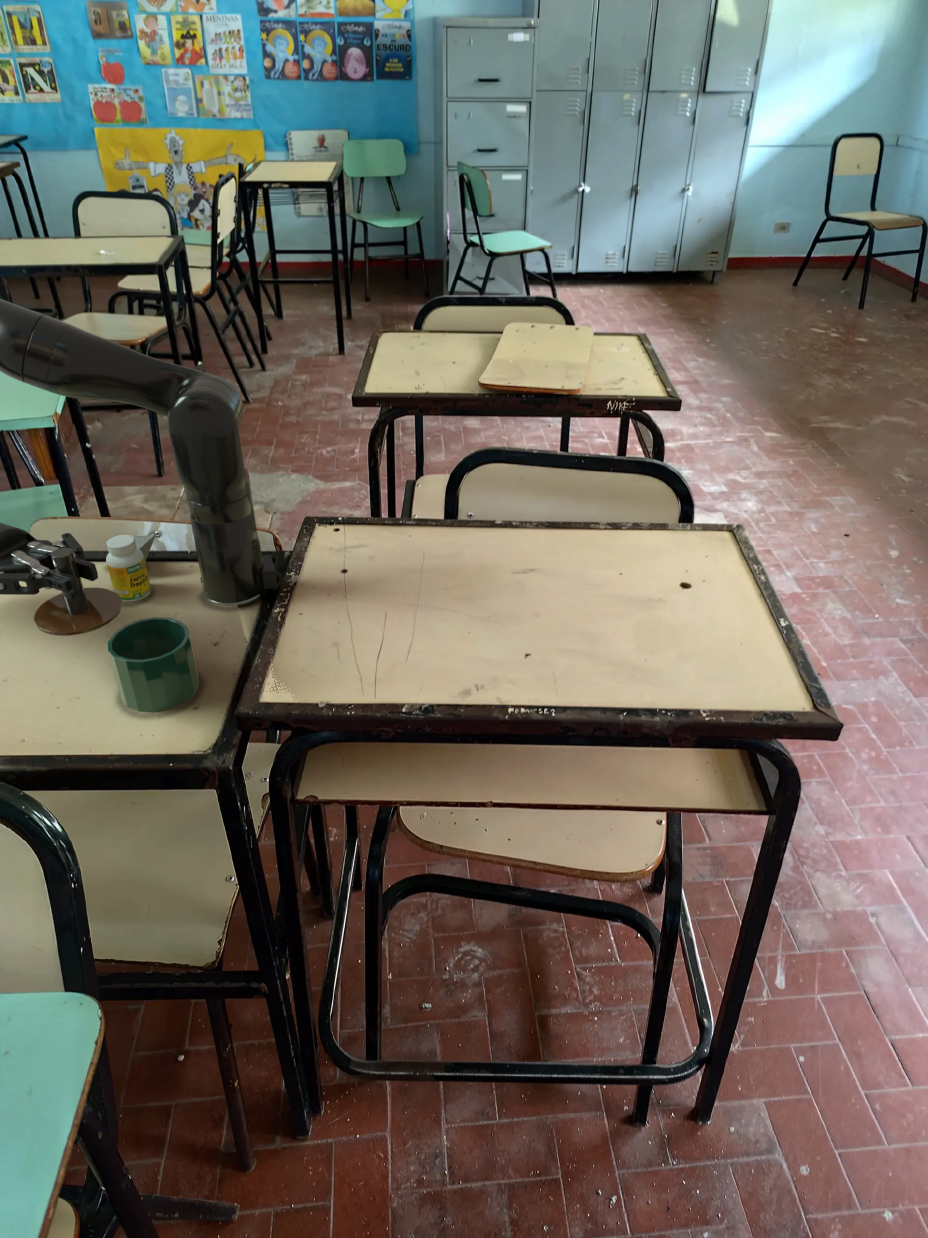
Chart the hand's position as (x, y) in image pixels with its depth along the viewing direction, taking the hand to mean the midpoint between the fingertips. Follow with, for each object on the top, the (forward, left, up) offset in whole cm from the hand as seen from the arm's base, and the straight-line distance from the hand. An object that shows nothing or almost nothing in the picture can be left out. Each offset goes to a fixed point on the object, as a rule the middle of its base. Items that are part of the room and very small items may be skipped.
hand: (84, 578), depth 107 cm
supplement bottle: (-3, -20, -15) cm, 25 cm away
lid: (+2, -2, -6) cm, 7 cm away
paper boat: (-4, -29, -15) cm, 33 cm away
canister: (-6, +6, -15) cm, 17 cm away
